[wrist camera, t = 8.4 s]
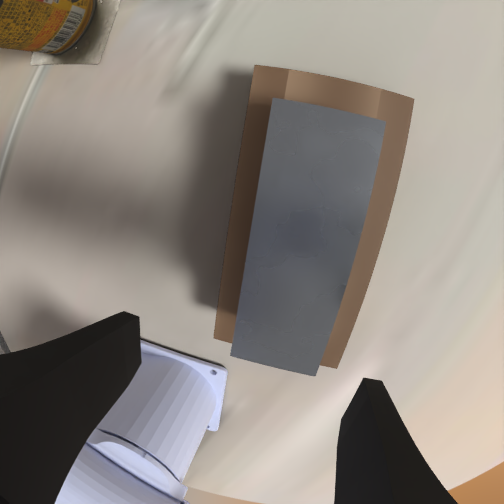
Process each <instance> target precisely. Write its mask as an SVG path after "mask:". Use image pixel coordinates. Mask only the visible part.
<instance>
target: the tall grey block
mask: <svg viewBox="0 0 504 504" xmlns="http://www.w3.org/2000/svg"><path fill="white" fill-rule="evenodd" d="M385 126H386V121H383V120H379V119H375V118H371V117H367V116H364V115H360V114H355V113H351V112H347V111H343V110H338V109H333V108H329V107H324V106H319V105H314V104H309V103H303V102H298V101H292V100H286V99H279V98H273V99H272V105H271V111H270V117H269V123H268V129H267V135H266V141H265V147H264V153H263V159H262V165H261V171H260V177H259V183H258V189H257V195H256V201H255V207H254V213H253V219H252V225H251V231H250V237H249V243H248V249H247V255H246V262H245V268H244V274H243V280H242V286H241V292H240V299H239V305H238V311H237V317H236V323H235V330H234V336H233V342H232V348H231V355H230V356H233V357H236V358H240V359H244V360H248V361H251V362H255V363H259V364H263V365H267V366H271V367H275V368H279V369H284V370H288V371H292V372H297V373H301V374H306V375H310V376H316V373H317V370H318V368H319V365H320V362H321V360H322V357H323V354H324V351H325V349H326V346H327V343H328V340H329V337H330V335H331V332H332V329H333V326H334V323H335V320H336V317H337V314H338V311H339V308H340V305H341V302H342V298H343V295H344V292H345V289H346V286H347V282H348V279H349V276H350V272H351V269H352V266H353V262H354V259H355V255H356V252H357V248H358V244H359V241H360V237H361V233H362V230H363V226H364V222H365V218H366V214H367V210H368V206H369V202H370V198H371V193H372V189H373V185H374V180H375V176H376V171H377V167H378V162H379V157H380V152H381V147H382V142H383V137H384V131H385Z"/></svg>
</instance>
